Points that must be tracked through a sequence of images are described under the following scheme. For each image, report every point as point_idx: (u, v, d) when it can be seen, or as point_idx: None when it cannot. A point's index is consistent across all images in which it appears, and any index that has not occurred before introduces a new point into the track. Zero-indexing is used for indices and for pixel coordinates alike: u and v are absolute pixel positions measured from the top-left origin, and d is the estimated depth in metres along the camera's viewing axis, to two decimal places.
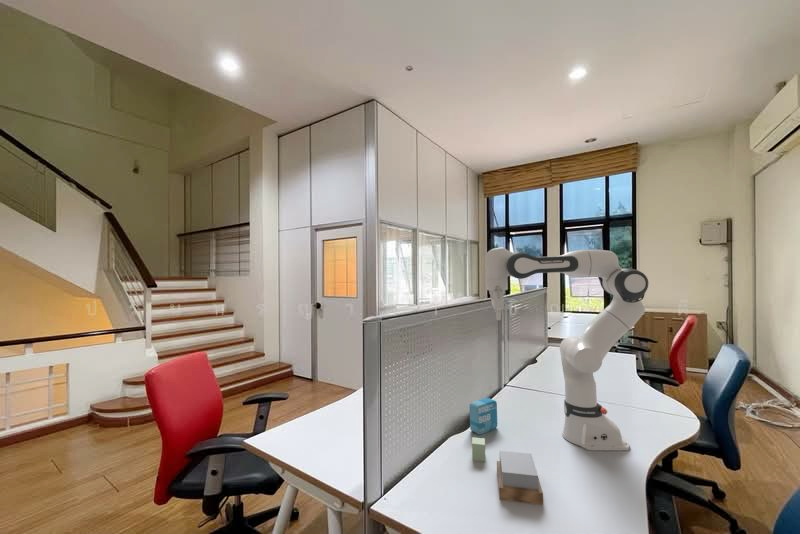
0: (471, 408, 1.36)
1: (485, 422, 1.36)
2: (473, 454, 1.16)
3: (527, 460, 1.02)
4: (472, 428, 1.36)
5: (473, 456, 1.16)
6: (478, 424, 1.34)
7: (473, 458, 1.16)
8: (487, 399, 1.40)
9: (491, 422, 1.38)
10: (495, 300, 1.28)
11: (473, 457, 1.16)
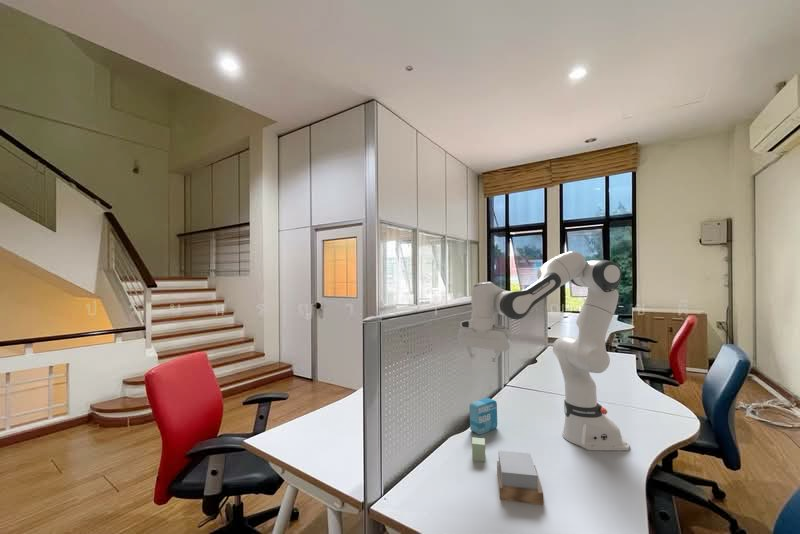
0: (471, 408, 1.36)
1: (485, 422, 1.36)
2: (473, 454, 1.16)
3: (526, 459, 1.02)
4: (472, 428, 1.36)
5: (473, 456, 1.16)
6: (478, 424, 1.34)
7: (473, 458, 1.16)
8: (487, 399, 1.40)
9: (491, 422, 1.38)
10: (506, 341, 1.18)
11: (473, 457, 1.16)
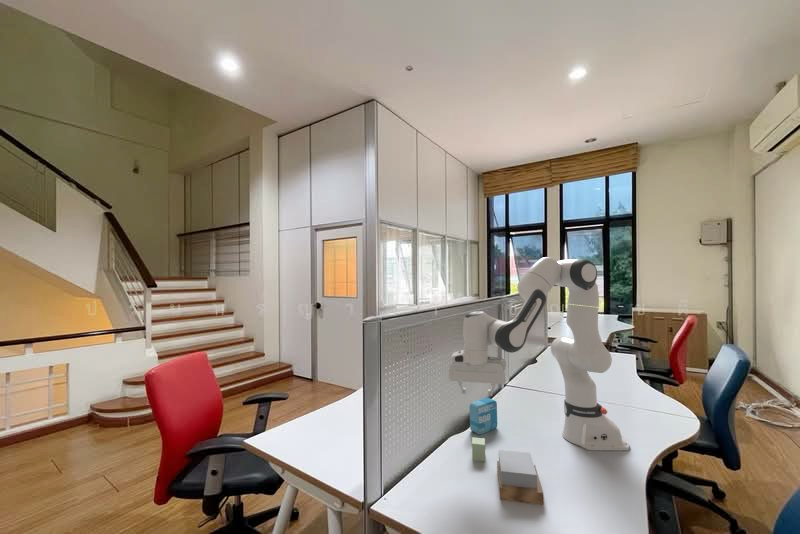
0: (471, 408, 1.36)
1: (485, 422, 1.36)
2: (473, 454, 1.16)
3: (526, 459, 1.03)
4: (472, 428, 1.36)
5: (473, 456, 1.16)
6: (478, 424, 1.34)
7: (473, 458, 1.16)
8: (487, 399, 1.40)
9: (491, 422, 1.38)
10: (504, 373, 1.15)
11: (473, 457, 1.16)
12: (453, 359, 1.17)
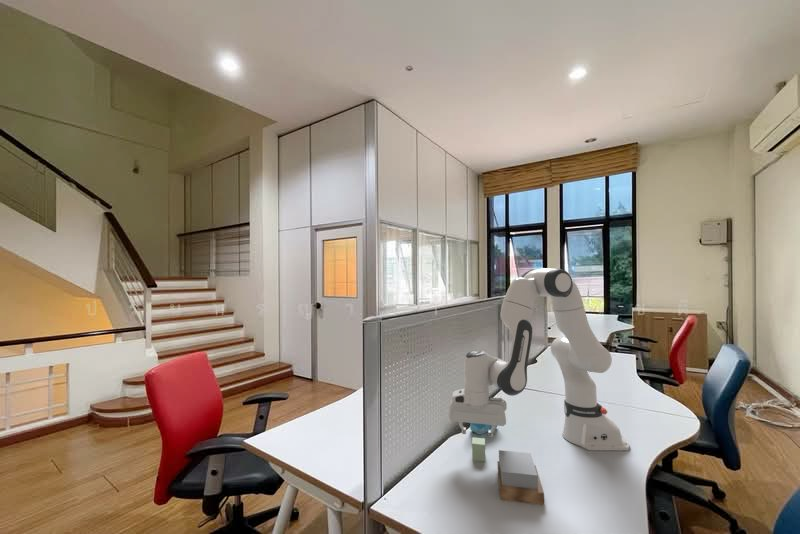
0: None
1: None
2: (473, 454, 1.16)
3: (527, 459, 1.03)
4: (472, 428, 1.36)
5: (473, 456, 1.16)
6: (478, 424, 1.34)
7: (473, 458, 1.16)
8: None
9: None
10: None
11: (473, 457, 1.16)
12: (454, 399, 1.17)
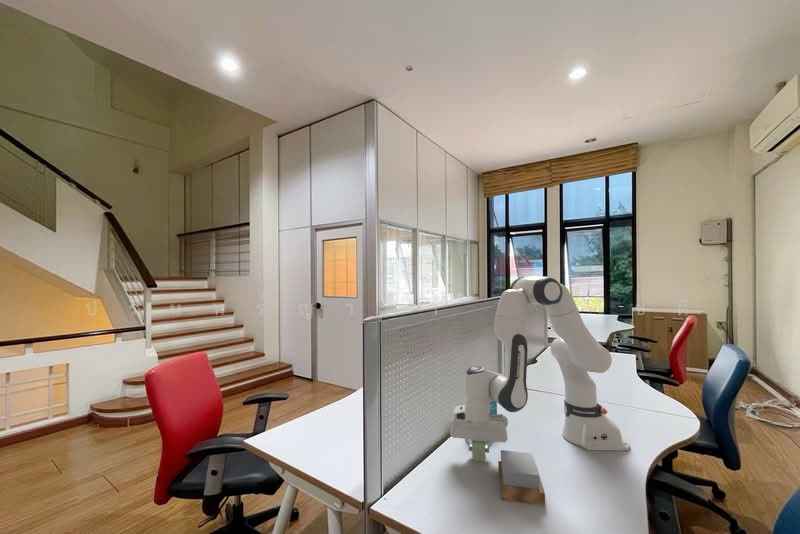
0: None
1: None
2: (473, 454, 1.16)
3: (528, 459, 1.02)
4: None
5: (473, 456, 1.16)
6: None
7: (473, 458, 1.16)
8: None
9: None
10: (506, 431, 1.14)
11: (473, 457, 1.16)
12: (455, 416, 1.17)
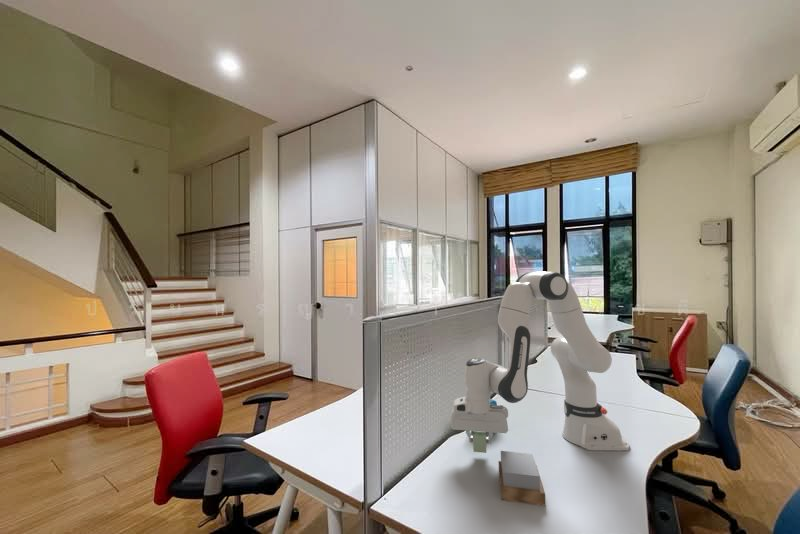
0: None
1: None
2: (474, 445, 1.16)
3: (529, 460, 1.02)
4: None
5: (474, 447, 1.16)
6: None
7: (474, 449, 1.16)
8: None
9: None
10: (506, 422, 1.14)
11: (474, 448, 1.16)
12: (455, 408, 1.17)
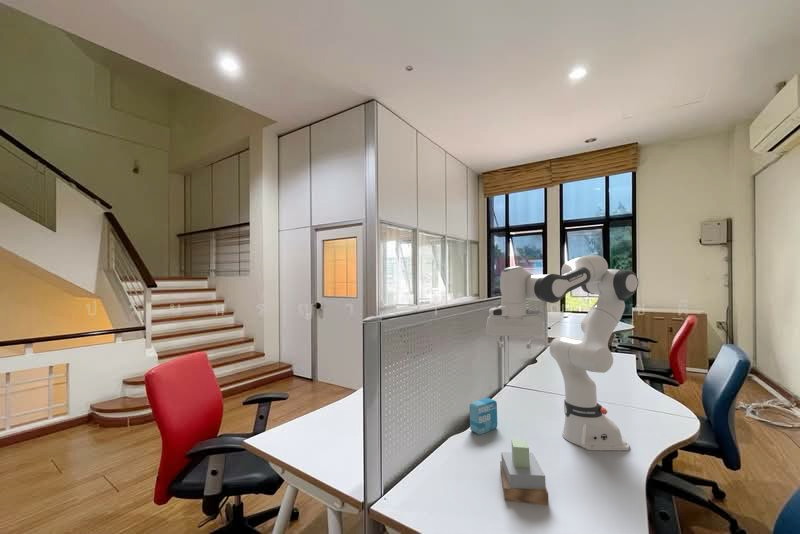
0: (471, 408, 1.36)
1: (485, 422, 1.36)
2: (515, 459, 0.99)
3: (531, 459, 1.02)
4: (472, 428, 1.36)
5: (515, 462, 0.99)
6: (478, 424, 1.34)
7: (515, 464, 0.99)
8: (487, 399, 1.40)
9: (491, 422, 1.38)
10: (543, 325, 1.16)
11: (515, 463, 0.99)
12: (491, 313, 1.18)
